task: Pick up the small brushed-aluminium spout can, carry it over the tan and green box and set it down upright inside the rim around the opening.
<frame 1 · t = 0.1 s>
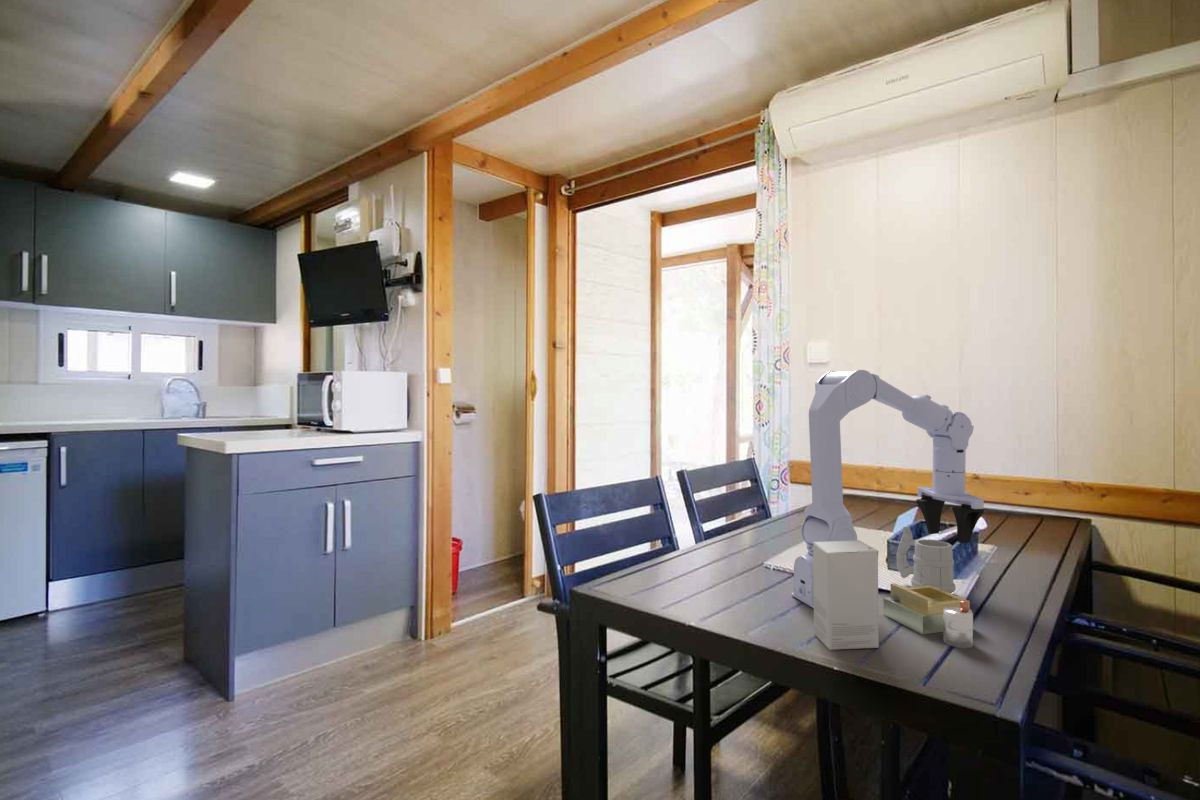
hand: (948, 537, 121), 10 cm above the table, fingers open, 7 cm apart
skincare box: (845, 643, 96), on the table
spout can: (957, 642, 95), on the table
mug: (923, 590, 120), on the table
tan and green box: (926, 621, 104), on the table
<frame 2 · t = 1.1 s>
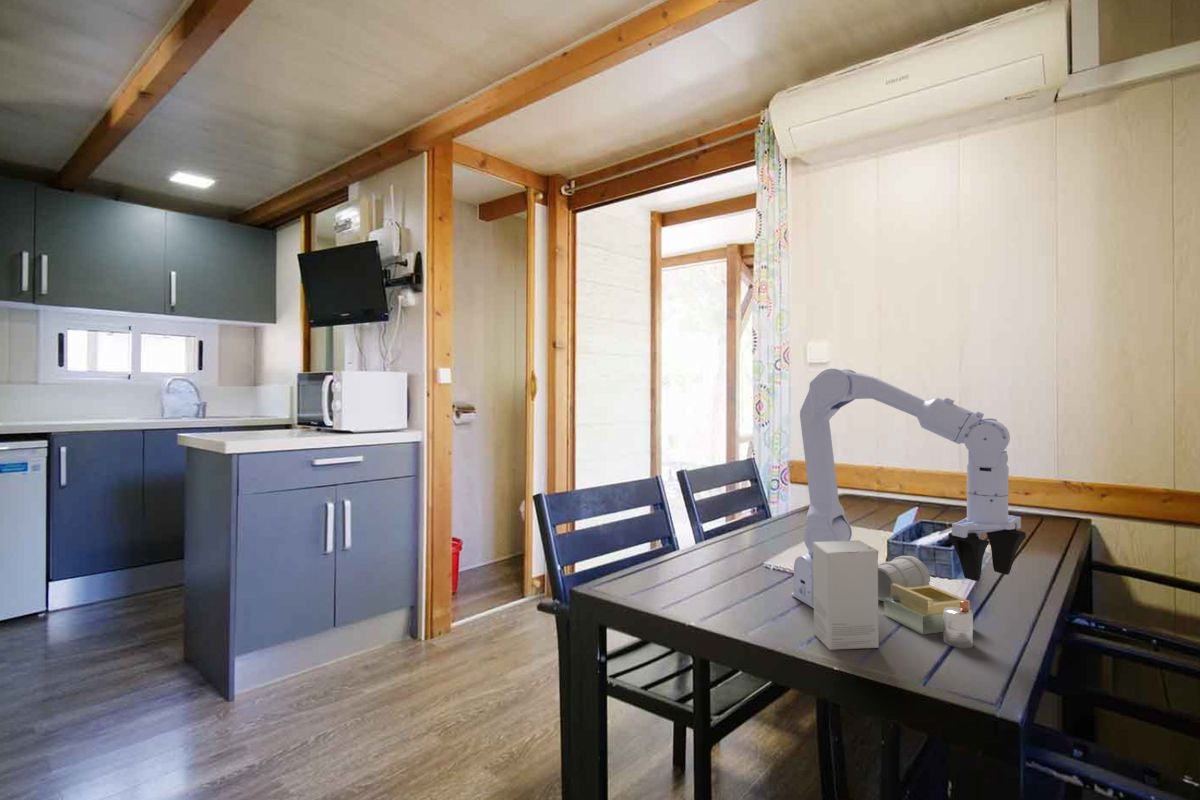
hand: (986, 576, 98), 10 cm above the table, fingers open, 7 cm apart
mug: (905, 575, 119), point 3 cm above the table
everything else where it was.
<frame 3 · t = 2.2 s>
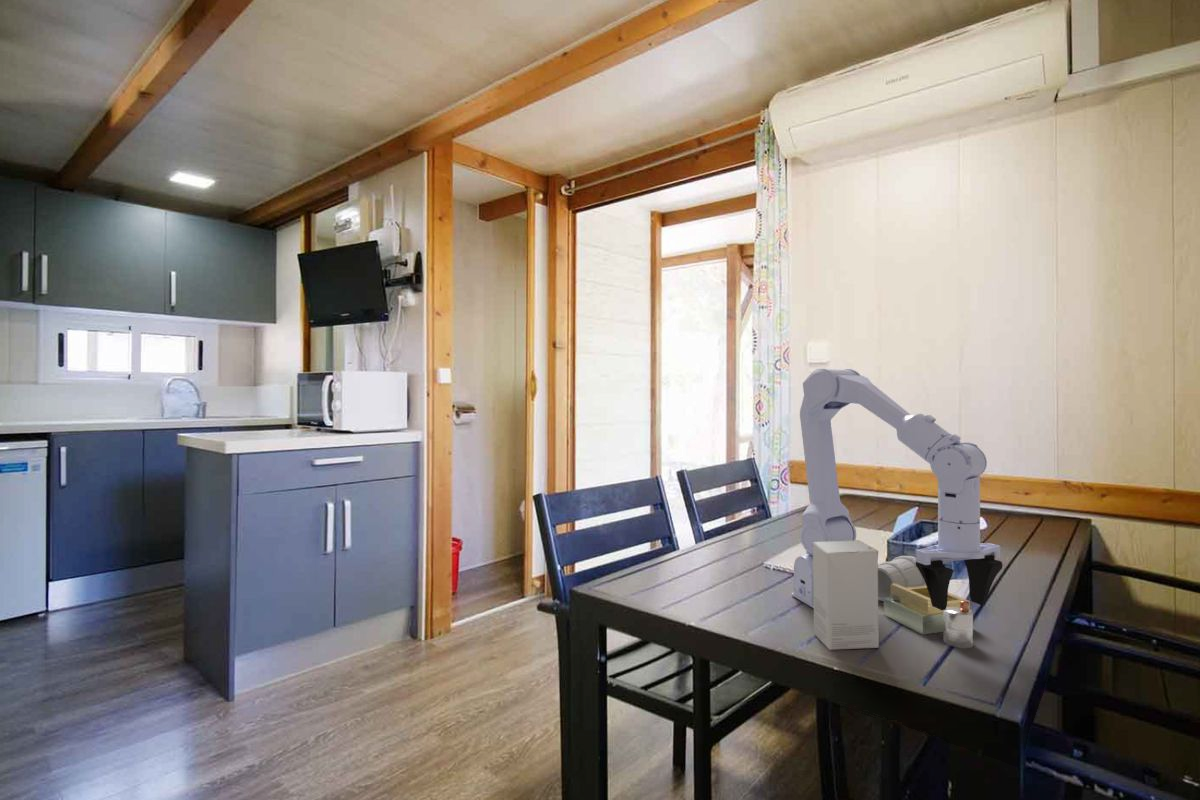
hand: (958, 605, 95), 6 cm above the table, fingers open, 7 cm apart
nothing on the table moved.
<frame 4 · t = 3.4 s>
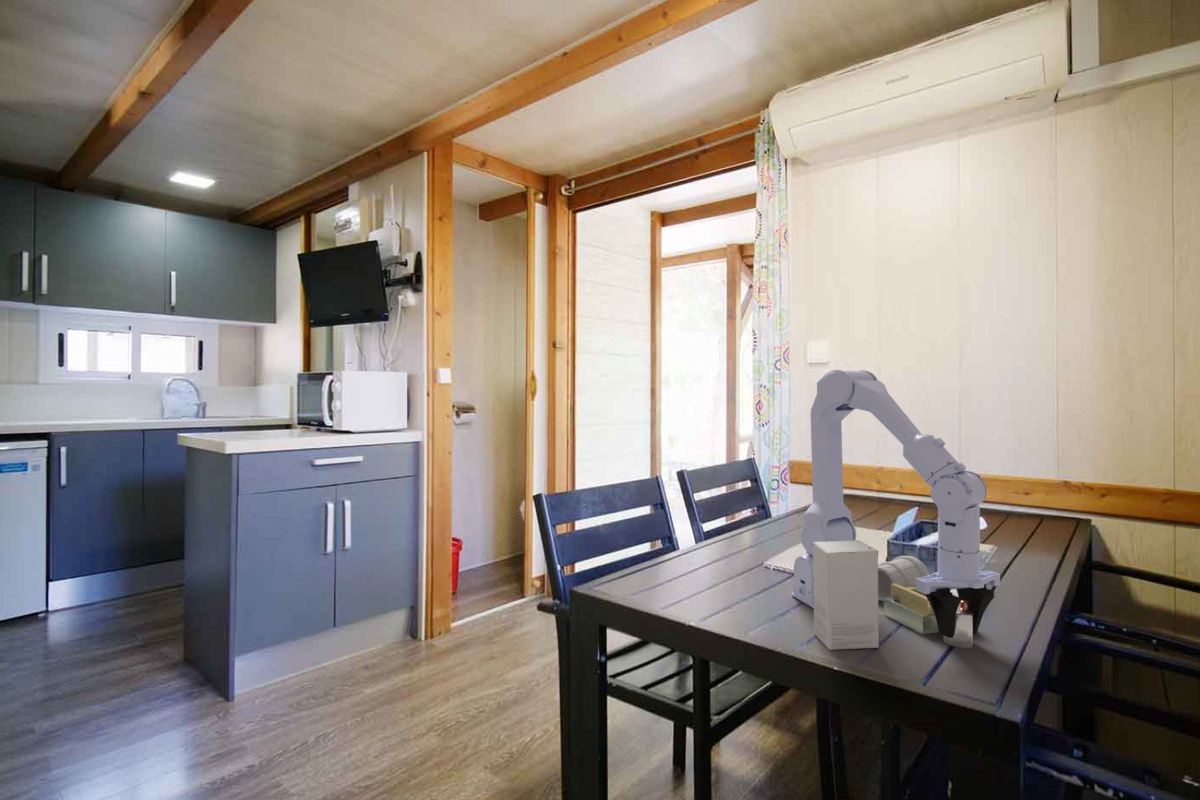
hand: (957, 633, 95), 1 cm above the table, fingers closed on spout can, 4 cm apart
spout can: (957, 642, 95), on the table, touching gripper
everything else where it was.
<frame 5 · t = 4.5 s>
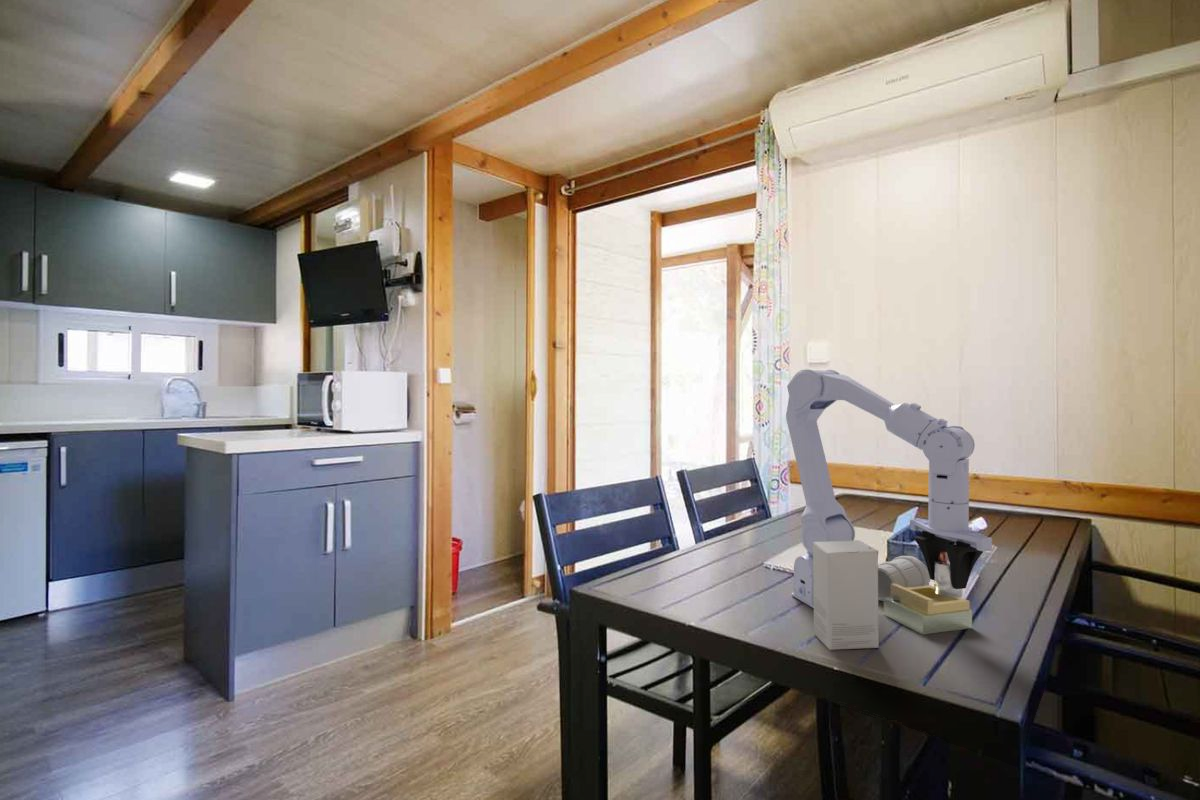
hand: (947, 583, 98), 8 cm above the table, fingers closed on spout can, 4 cm apart
spout can: (948, 593, 98), point 7 cm above the table, touching gripper
everything else where it was.
when the fingers open (5 cm above the table, at t = 6.1 s): spout can stays where it is, resting on tan and green box.
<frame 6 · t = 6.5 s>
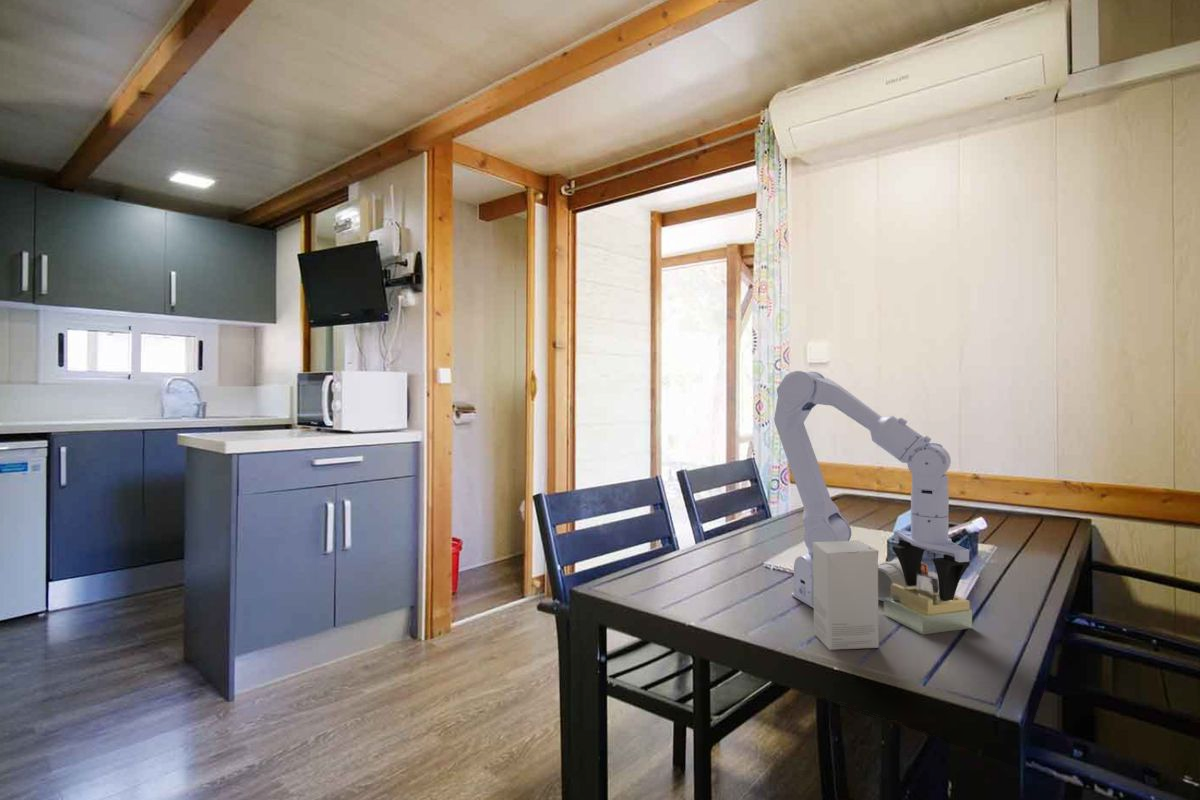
hand: (929, 592, 104), 5 cm above the table, fingers open, 7 cm apart
spout can: (929, 603, 104), point 3 cm above the table, touching tan and green box
everything else where it was.
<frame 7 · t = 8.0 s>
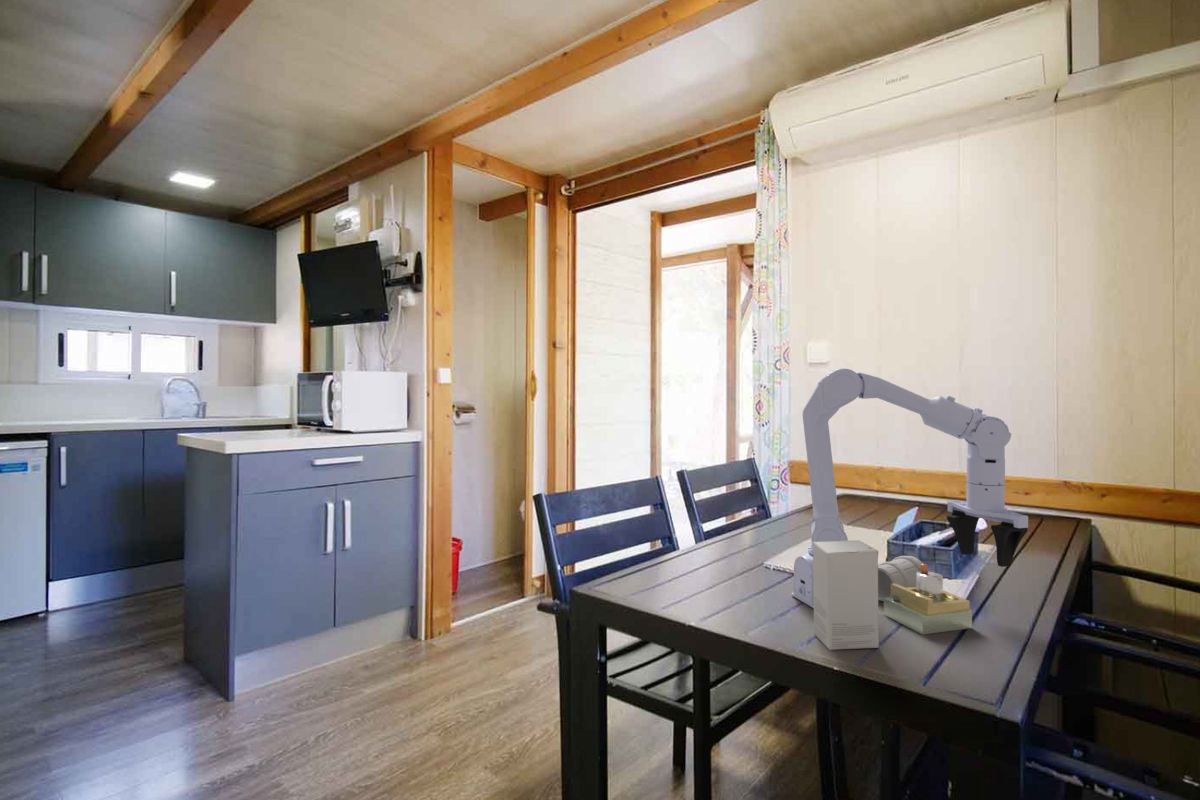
hand: (984, 559, 106), 10 cm above the table, fingers open, 7 cm apart
nothing on the table moved.
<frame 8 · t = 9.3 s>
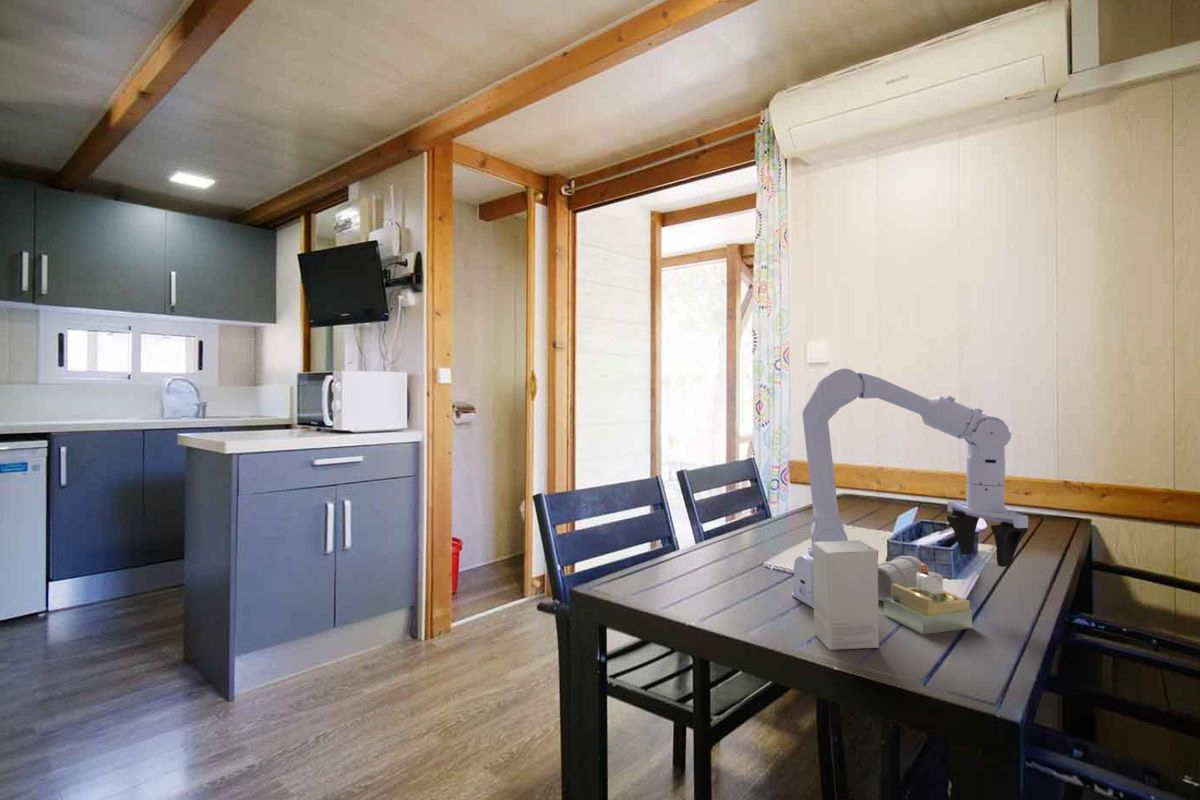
hand: (984, 559, 106), 10 cm above the table, fingers open, 7 cm apart
nothing on the table moved.
at the end: spout can 0.1 cm off-centre on the tan and green box, point 3.0 cm above the tan and green box's base; spout can tilted 0°; the gripper is holding nothing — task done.
